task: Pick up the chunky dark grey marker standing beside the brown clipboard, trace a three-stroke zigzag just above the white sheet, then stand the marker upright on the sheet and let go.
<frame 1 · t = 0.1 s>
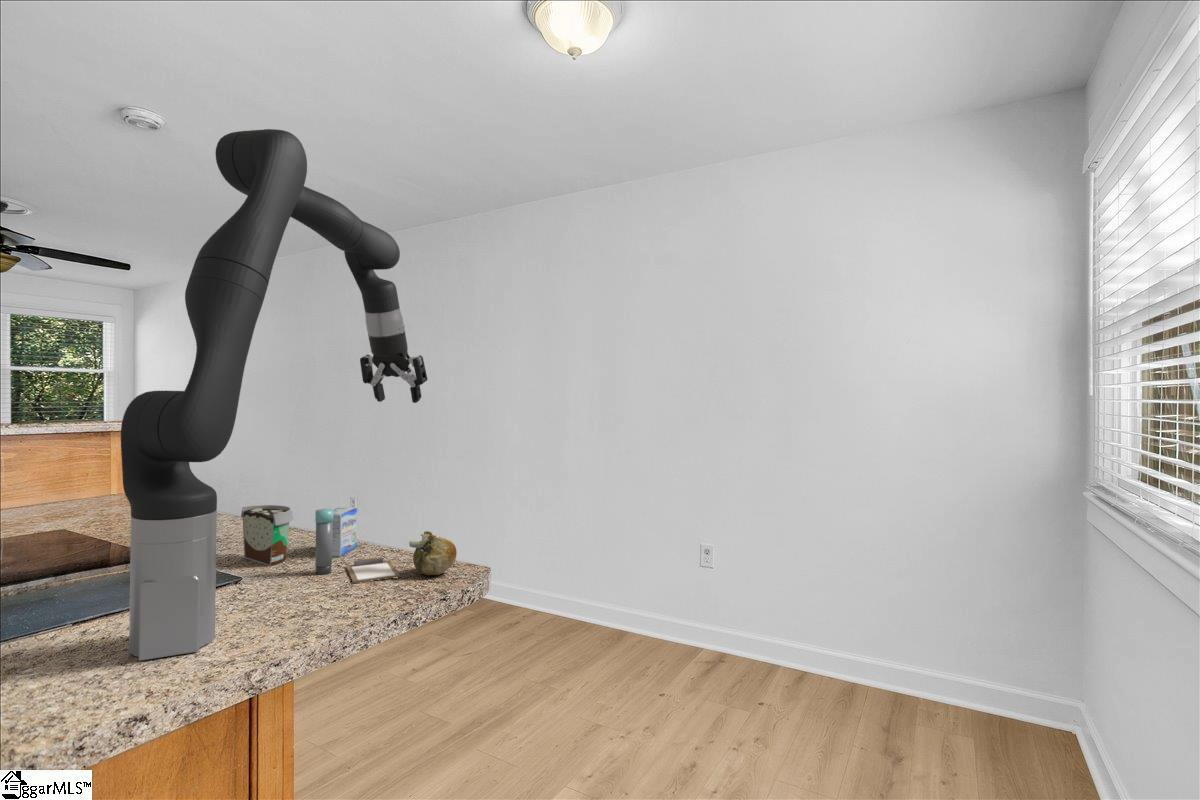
hand: (398, 401, 134), 31 cm above the countertop, tool tilted 20°, fingers open, 8 cm apart
marker: (323, 572, 111), on the countertop
clipboard: (372, 572, 112), on the countertop
medicine box: (338, 553, 125), on the countertop
onion: (434, 574, 112), on the countertop
food container: (272, 559, 119), on the countertop
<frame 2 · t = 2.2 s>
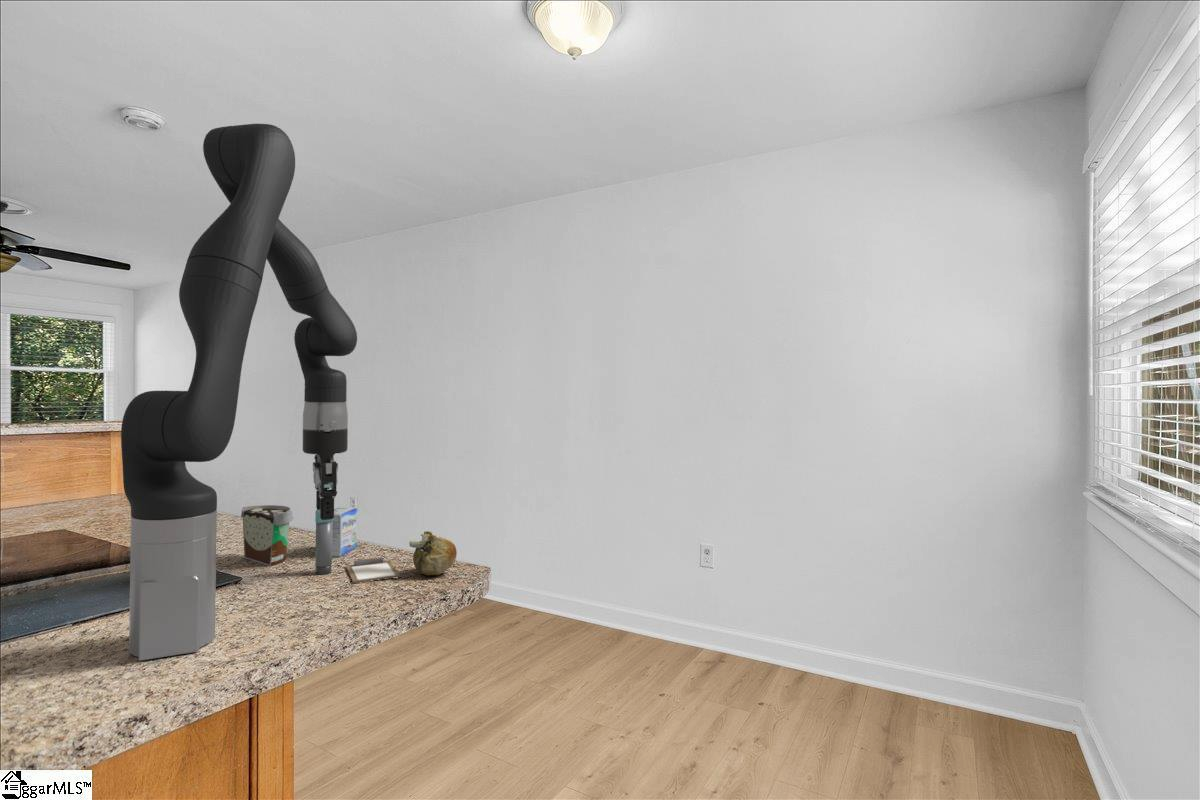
hand: (324, 514, 111), 11 cm above the countertop, tool pointing down, fingers open, 8 cm apart
nothing on the countertop moved.
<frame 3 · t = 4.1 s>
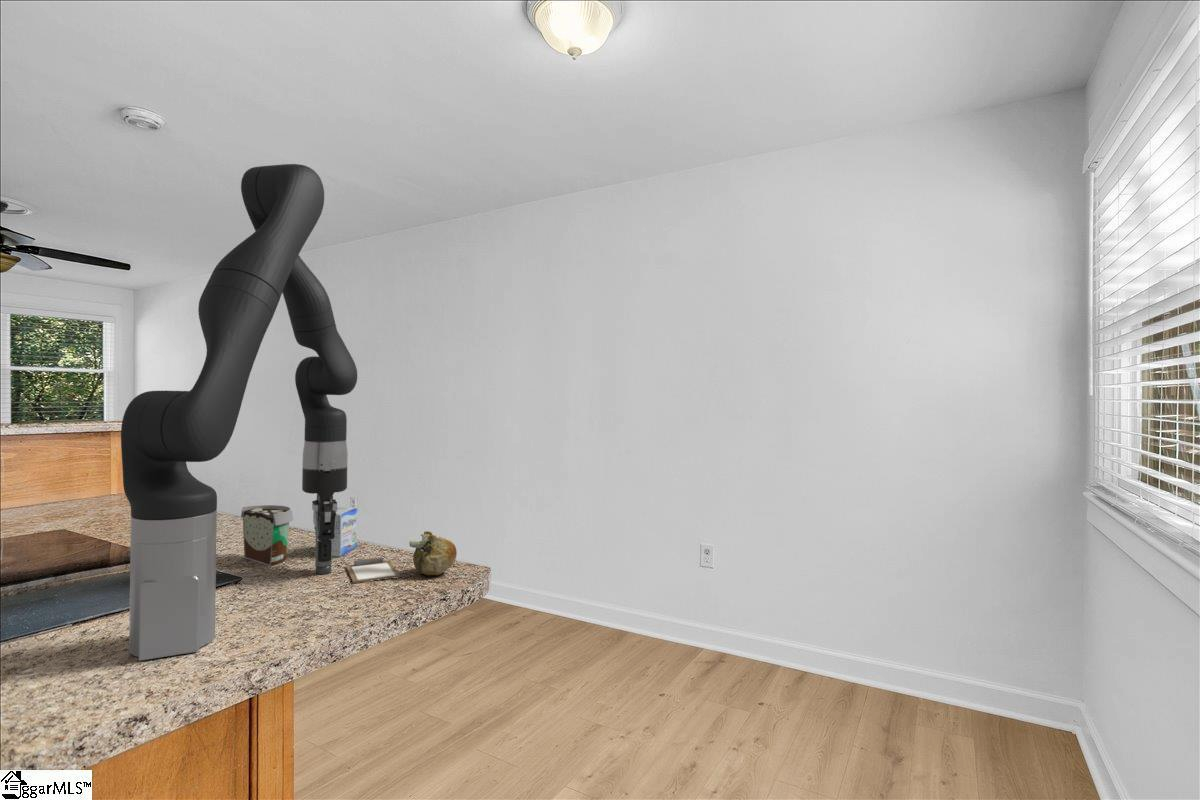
hand: (323, 558, 111), 3 cm above the countertop, tool pointing down, fingers closed on marker, 2 cm apart
marker: (323, 572, 111), on the countertop, touching gripper
everything else where it was.
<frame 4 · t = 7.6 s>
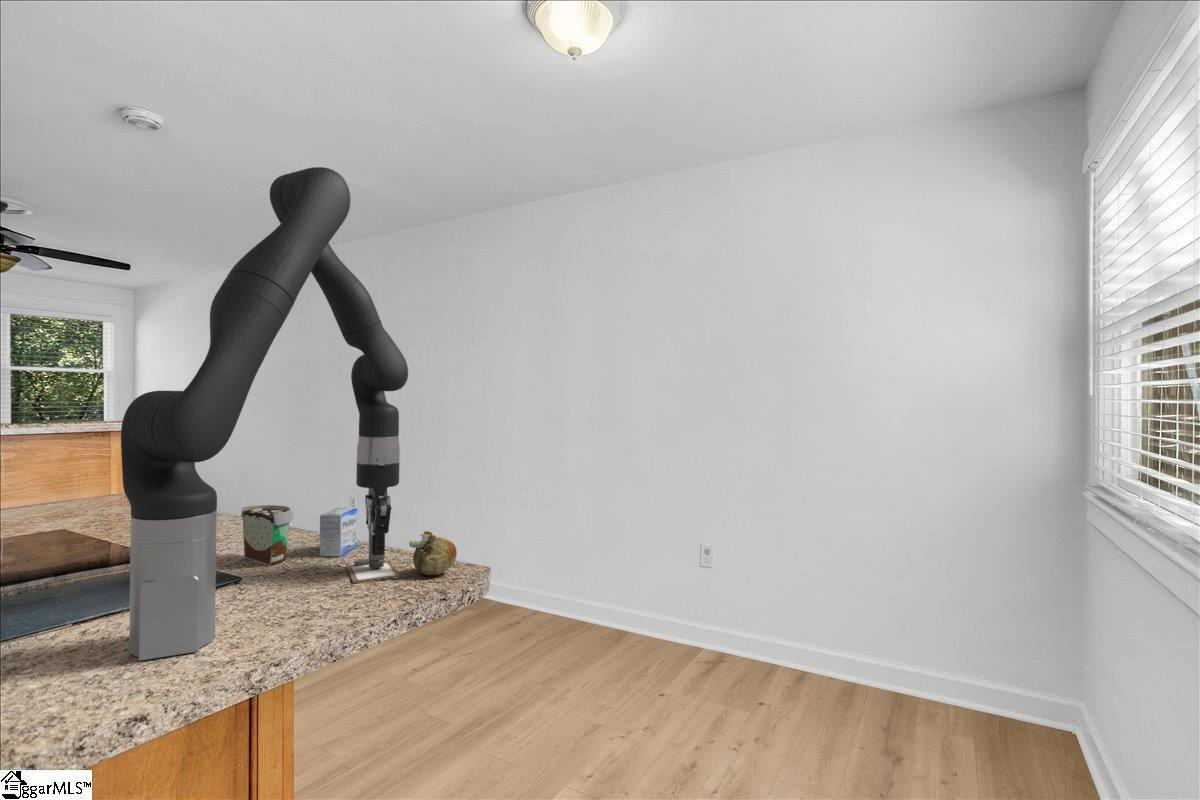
hand: (376, 552, 112), 4 cm above the countertop, tool pointing down, fingers closed on marker, 2 cm apart
marker: (376, 566, 113), point 1 cm above the countertop, touching gripper
everything else where it was.
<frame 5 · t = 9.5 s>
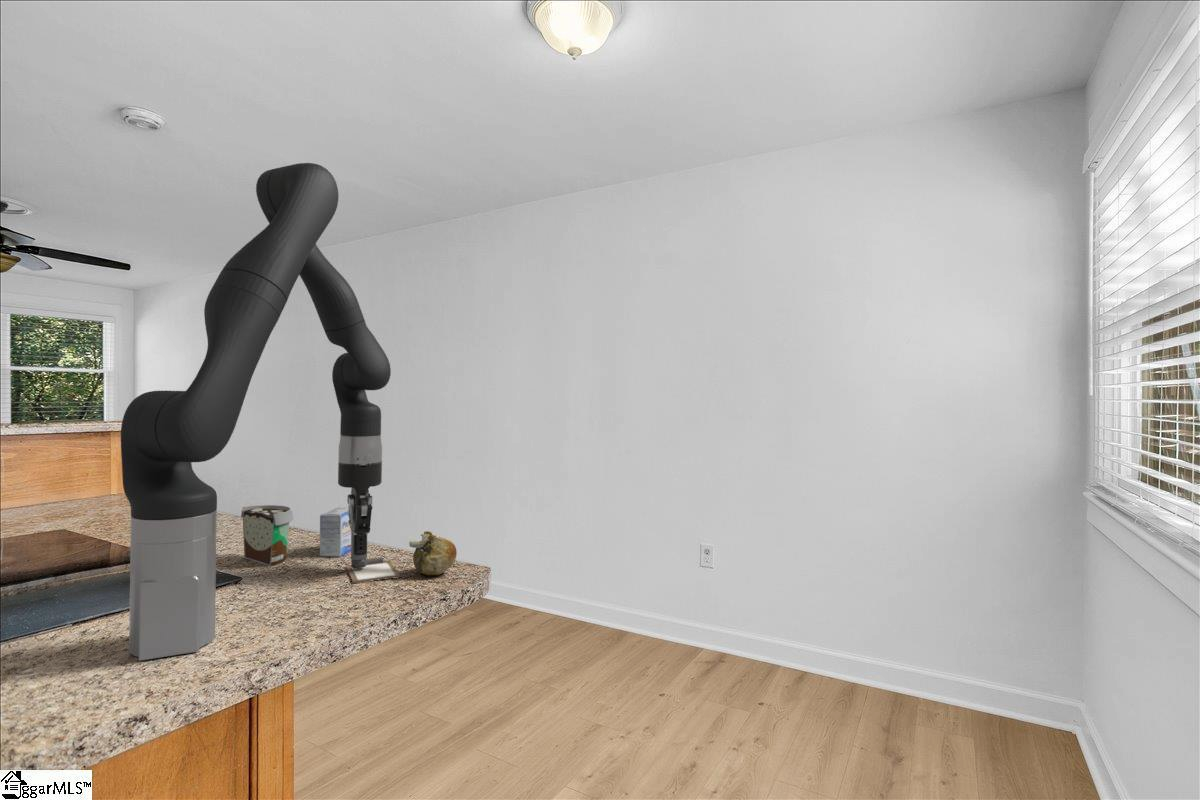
hand: (358, 552, 112), 4 cm above the countertop, tool pointing down, fingers closed on marker, 2 cm apart
marker: (358, 566, 112), point 1 cm above the countertop, touching gripper
everything else where it was.
when the fingers open (3 cm above the countertop, at t = 11.3 s): marker stays where it is, resting on clipboard.
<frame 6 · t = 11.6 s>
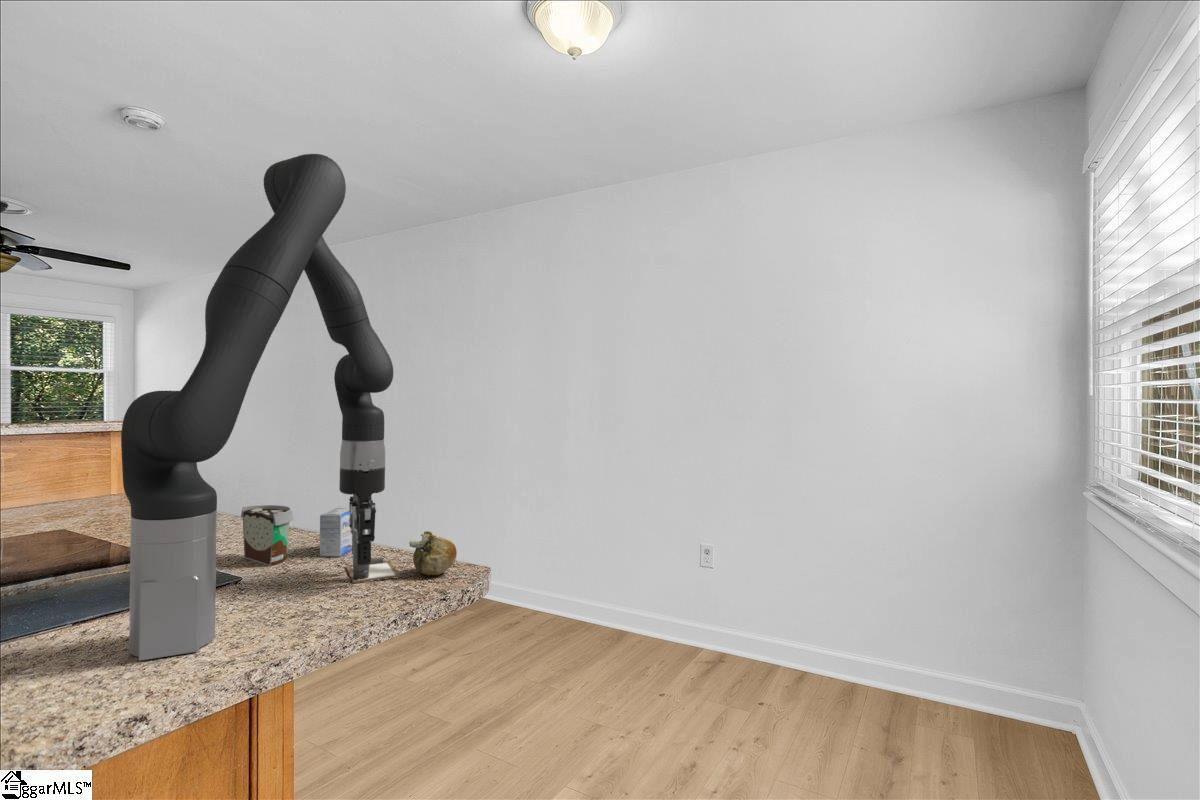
hand: (361, 559, 107), 4 cm above the countertop, tool pointing down, fingers open, 5 cm apart
marker: (361, 577, 107), resting on clipboard
everything else where it was.
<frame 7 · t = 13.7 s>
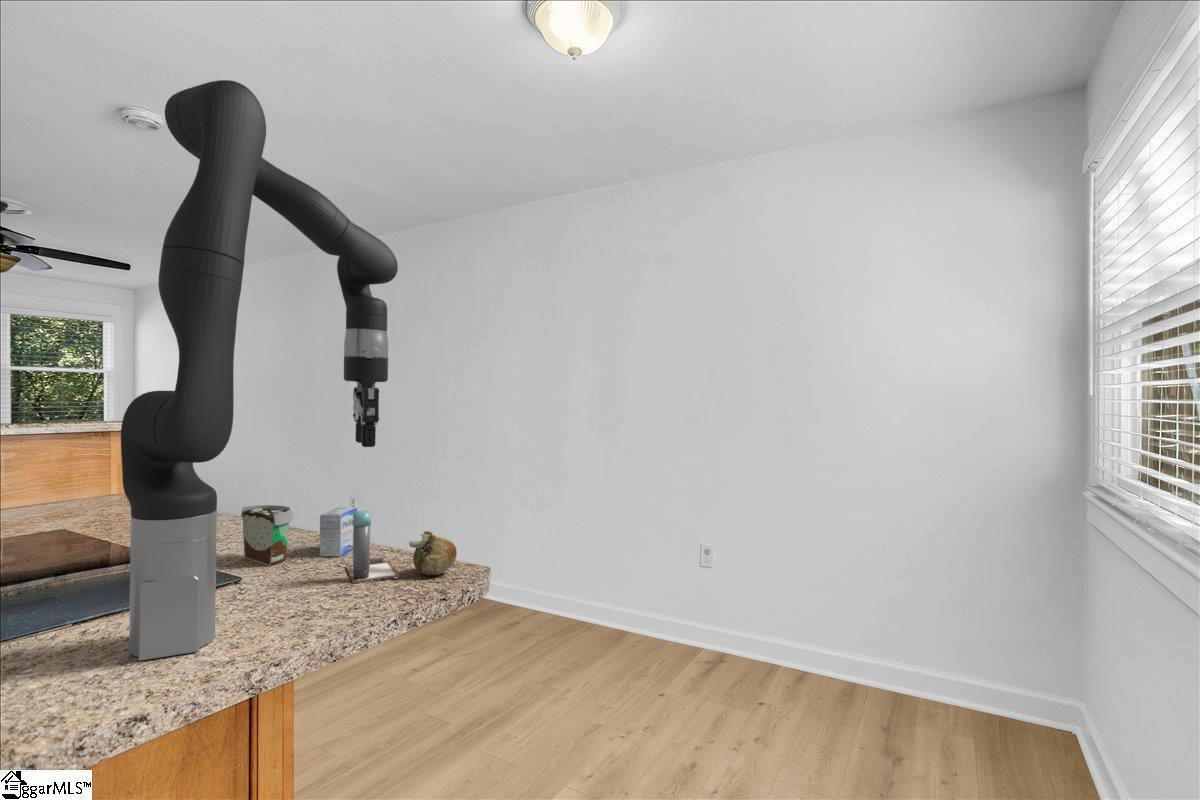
hand: (365, 444, 110), 24 cm above the countertop, tool pointing down, fingers open, 8 cm apart
nothing on the countertop moved.
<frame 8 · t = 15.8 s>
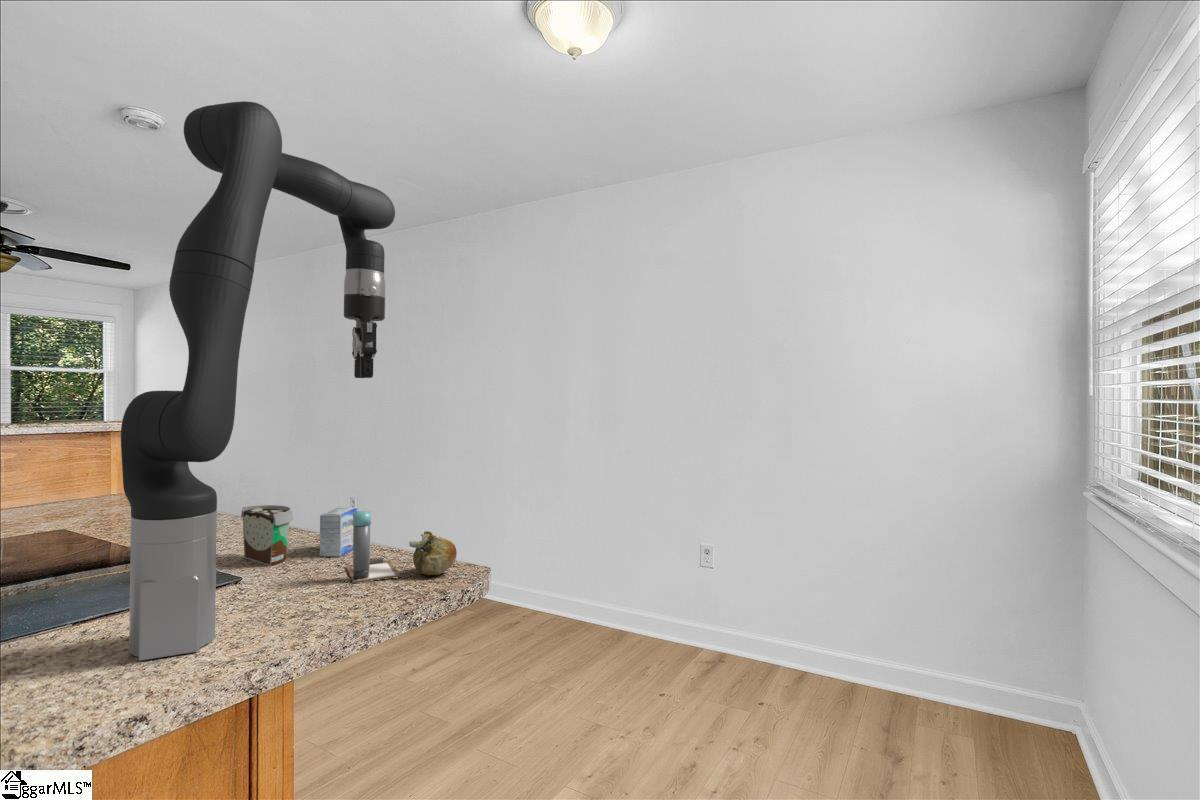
hand: (363, 377, 118), 36 cm above the countertop, tool pointing down, fingers open, 8 cm apart
nothing on the countertop moved.
at the end: marker inside the target area on the clipboard (4.3 cm from its centre), point 0.4 cm above the clipboard's base; marker tilted 0°; the gripper is holding nothing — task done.
